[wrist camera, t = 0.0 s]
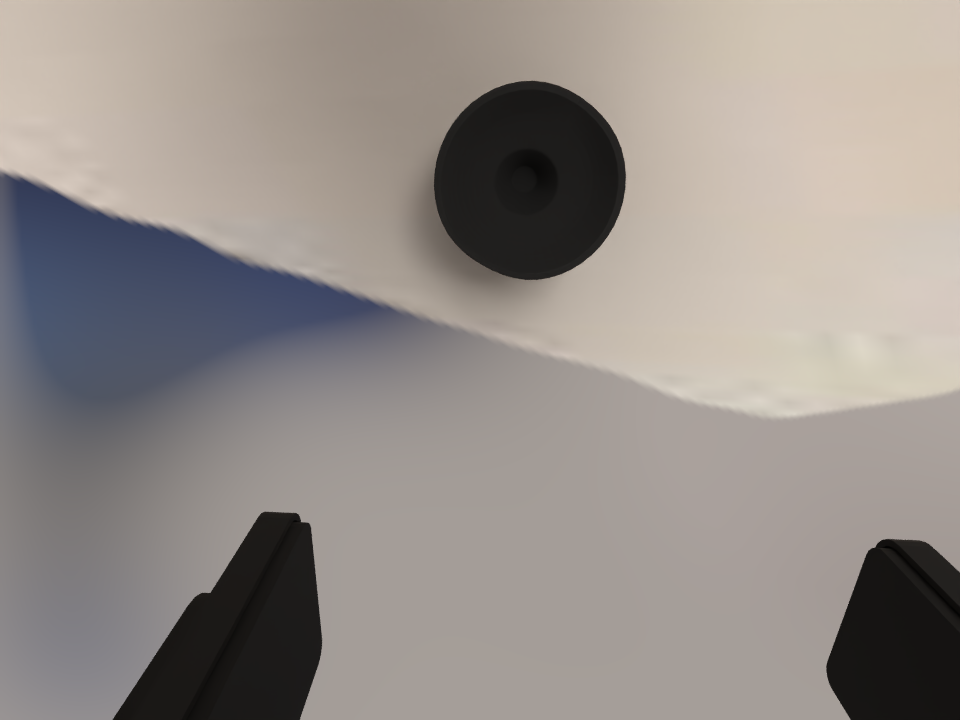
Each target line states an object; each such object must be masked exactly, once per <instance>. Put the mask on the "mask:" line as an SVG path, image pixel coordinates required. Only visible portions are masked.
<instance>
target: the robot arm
mask: <svg viewBox="0 0 960 720" xmlns="http://www.w3.org/2000/svg"><path fill="white" fill-rule="evenodd" d="M321 649H322V635H321V624H320V614H319V605H318V594H317V584H316V574H315V564H314V554H313V544H312V534H311V527H310V524H309V523H303V522H301V520H300V516H299V515H298V514H297V513H279V512H263V513H261V514H260V516H259V517H258V518H257V520H256V522H255V523H254V525H253V527H252V528H251V529H250V531H249V533H248V534H247V536H246V537H245V539H244V541H243V542H242V544H241V545H240V547H239V549H238V550H237V552H236V554H235V555H234V556H233V558H232V560H231V561H230V563H229V564H228V566H227V568H226V569H225V571H224V573H223V574H222V576H221V577H220V579H219V580H218V582H217V583H216V585H215V587H214V588H213V590H212V591H211V593H201V594H199V595H197V596H196V597H195V598H194V599H193V600H192V601H191V603H190V604H189V605H188V606H187V608H186V610H185V611H184V612H183V614H182V616H181V617H180V619H179V620H178V622H177V623H176V625H175V626H174V628H173V629H172V631H171V632H170V634H169V635H168V637H167V638H166V640H165V641H164V643H163V644H162V646H161V647H160V649H159V650H158V652H157V653H156V655H155V656H154V658H153V659H152V661H151V662H150V664H149V665H148V667H147V669H146V670H145V672H144V673H143V675H142V676H141V678H140V679H139V681H138V682H137V684H136V685H135V687H134V688H133V690H132V691H131V693H130V694H129V696H128V697H127V699H126V700H125V702H124V704H123V705H122V706H121V708H120V709H119V711H118V712H117V714H116V715H115V717H114V719H113V720H300V717H301V714H302V711H303V708H304V705H305V702H306V699H307V696H308V693H309V691H310V687H311V685H312V682H313V679H314V676H315V673H316V670H317V667H318V664H319V660H320V656H321ZM826 668H827V677H828V681H829V683H830V686H831V688H832V690H833V691H834V693H835V695H836V696H837V698H838V700H839V701H840V703H841V704H842V706H843V708H844V709H845V711H846V713H847V714H848V716H849V717H850V719H851V720H960V572H959V571H957V570H956V569H955V568H954V567H953V566H952V565H951V564H950V563H949V562H948V561H947V560H946V559H945V558H944V557H943V556H942V555H940V554H939V553H938V552H937V551H936V550H935V549H933V547H932V546H930V545H929V544H927V543H926V542H922V541H917V540H895V539H885V540H881V541H880V542H879V543H878V544H877V545H876V547H875V548H872V549H870V550H869V551H868V553H867V555H866V558H865V560H864V563H863V565H862V568H861V571H860V574H859V576H858V579H857V582H856V585H855V587H854V590H853V593H852V596H851V599H850V601H849V604H848V607H847V609H846V612H845V615H844V618H843V620H842V623H841V626H840V629H839V631H838V634H837V637H836V640H835V642H834V645H833V648H832V651H831V653H830V656H829V659H828V662H827V666H826Z"/></svg>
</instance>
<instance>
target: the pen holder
mask: <svg viewBox="0 0 960 720" xmlns="http://www.w3.org/2000/svg"><path fill="white" fill-rule="evenodd" d="M625 181H626V172H625V162H624V158H623V153H622V149H621V147H620V144H619V142H618V139H617V137H616V135H615V133H614V132H613V130H612V128H611V127H610V125H609V124H608V122H607V121H606V120H605V119H604V118H603V116H602V115H601V114H600V113H599V112H598V111H597V110H596V109H595V108H594V107H593V106H592V105H590V104H589V103H588V102H586V101H585V100H584V99H582V98H581V97H580V96H578V95H576V94H574V93H573V92H571V91H569V90H567V89H565V88H562V87H560V86H557V85H554V84H550V83H546V82H538V81H521V82H515V83H511V84H506V85H504V86H501V87H498V88H495V89H493V90H491V91H489V92H488V93H486V94H484V95H482V96H481V97H479V98H478V99H477V100H475V101H474V102H472V103H471V104H470V105H469V106H468V107H467V108H466V109H465V110H464V111H463V112H462V113H461V114H460V115H459V117H458V118H457V119H456V120H455V122H454V123H453V124H452V126H451V128H450V129H449V131H448V133H447V134H446V136H445V138H444V141H443V143H442V145H441V148H440V151H439V154H438V158H437V162H436V168H435V177H434V190H435V200H436V205H437V209H438V213H439V216H440V218H441V221H442V224H443V225H444V227H445V229H446V231H447V233H448V234H449V236H450V237H451V238H452V240H453V241H454V243H455V244H456V245H457V246H458V247H459V248H460V249H461V250H462V251H463V252H465V253H466V254H467V255H468V256H470V257H471V258H472V259H474V260H475V261H477V262H478V263H480V264H481V265H483V266H485V267H487V268H489V269H491V270H493V271H495V272H498V273H500V274H502V275H506V276H509V277H513V278H518V279H524V280H538V279H545V278H550V277H553V276H557V275H560V274H562V273H565V272H567V271H569V270H571V269H573V268H574V267H576V266H578V265H579V264H581V263H582V262H584V261H585V260H586V259H587V258H589V257H590V256H591V255H592V254H593V253H594V252H595V251H596V250H597V249H598V248H599V247H600V246H601V245H602V243H603V242H604V241H605V239H606V238H607V237H608V235H609V233H610V232H611V230H612V228H613V227H614V225H615V222H616V220H617V218H618V216H619V213H620V210H621V206H622V203H623V199H624V193H625Z"/></svg>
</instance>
